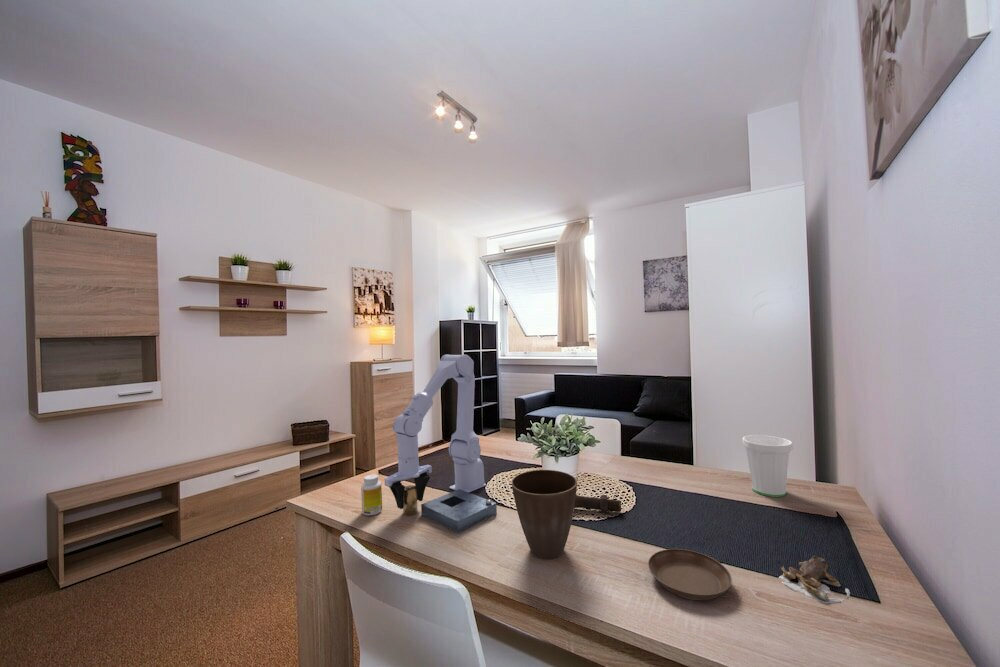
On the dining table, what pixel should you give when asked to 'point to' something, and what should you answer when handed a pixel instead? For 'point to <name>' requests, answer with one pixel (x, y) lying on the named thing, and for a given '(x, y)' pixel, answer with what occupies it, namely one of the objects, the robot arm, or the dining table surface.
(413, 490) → the bushing
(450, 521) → the jig
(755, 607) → the dining table surface
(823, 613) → the dining table surface
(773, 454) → the cup
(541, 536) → the plant pot
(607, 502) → the bolt
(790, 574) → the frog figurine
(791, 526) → the dining table surface
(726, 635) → the dining table surface
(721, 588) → the saucer
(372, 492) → the supplement bottle
